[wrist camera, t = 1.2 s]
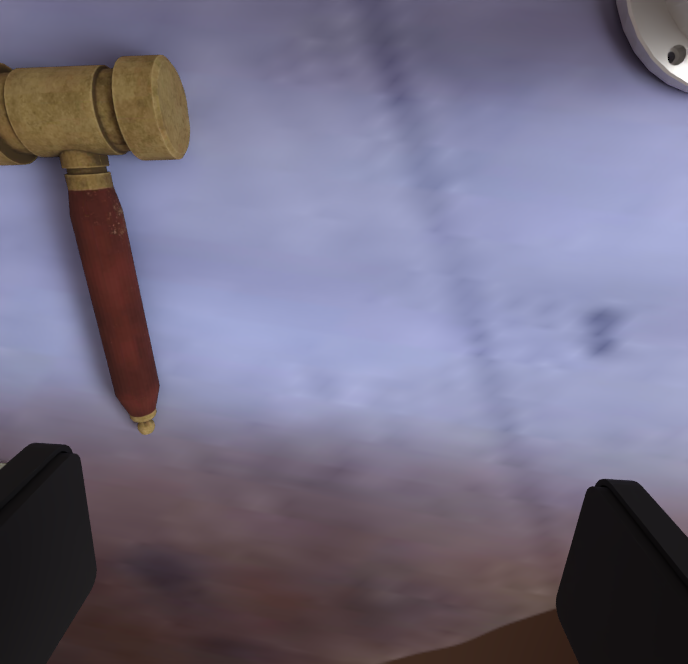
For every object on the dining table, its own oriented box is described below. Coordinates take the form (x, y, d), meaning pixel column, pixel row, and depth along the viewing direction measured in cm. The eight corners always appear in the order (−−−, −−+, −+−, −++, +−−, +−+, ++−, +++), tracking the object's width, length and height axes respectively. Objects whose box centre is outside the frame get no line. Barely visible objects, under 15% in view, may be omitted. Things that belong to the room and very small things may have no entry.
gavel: (215, 453, 28) (50, 456, 28) (233, 411, 32) (88, 414, 33) (147, 47, 20) (-84, 56, 20) (182, 61, 24) (-10, 69, 24)
